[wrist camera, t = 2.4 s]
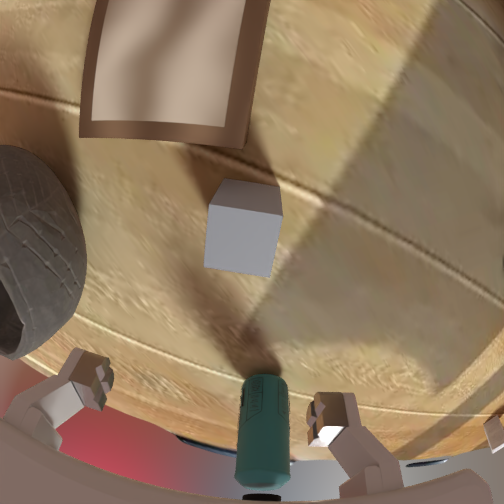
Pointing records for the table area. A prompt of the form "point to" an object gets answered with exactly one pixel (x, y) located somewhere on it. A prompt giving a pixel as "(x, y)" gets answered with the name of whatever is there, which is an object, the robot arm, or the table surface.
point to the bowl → (36, 253)
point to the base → (172, 70)
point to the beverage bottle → (263, 436)
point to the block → (243, 227)
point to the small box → (494, 433)
